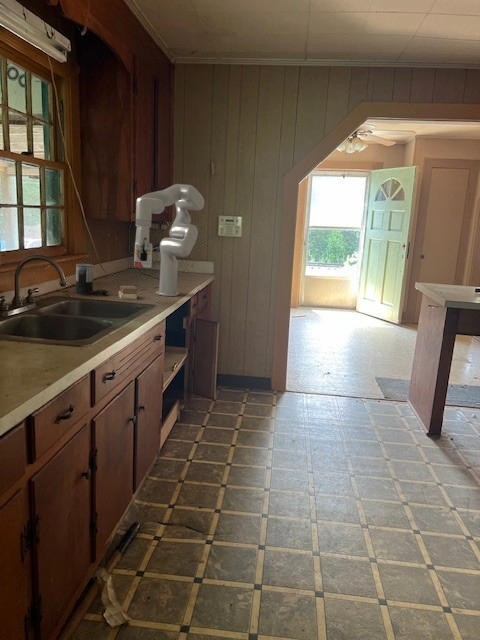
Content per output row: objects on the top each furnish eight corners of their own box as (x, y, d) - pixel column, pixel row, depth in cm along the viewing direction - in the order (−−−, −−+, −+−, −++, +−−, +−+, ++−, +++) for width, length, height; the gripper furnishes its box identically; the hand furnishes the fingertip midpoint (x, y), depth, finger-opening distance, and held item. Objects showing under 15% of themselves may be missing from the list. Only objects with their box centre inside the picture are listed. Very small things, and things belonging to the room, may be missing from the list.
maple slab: (118, 296, 255) (118, 291, 254) (133, 296, 258) (134, 291, 257) (120, 299, 248) (121, 293, 247) (136, 299, 251) (136, 294, 250)
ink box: (134, 267, 240) (134, 243, 237) (134, 265, 244) (134, 242, 242) (151, 267, 242) (152, 244, 239) (151, 266, 246) (152, 243, 244)
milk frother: (74, 290, 257) (74, 263, 254) (104, 291, 264) (105, 264, 260) (77, 295, 244) (77, 266, 241) (108, 296, 251) (109, 268, 248)
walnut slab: (120, 291, 253) (120, 285, 253) (133, 291, 256) (133, 286, 256) (123, 293, 247) (123, 288, 247) (136, 294, 250) (136, 288, 250)
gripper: (132, 221, 244) (131, 257, 248) (139, 224, 229) (138, 262, 233) (146, 222, 247) (145, 258, 251) (155, 225, 232) (153, 262, 236)
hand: (142, 259), depth 242 cm, fingers closed on ink box, 5 cm apart
